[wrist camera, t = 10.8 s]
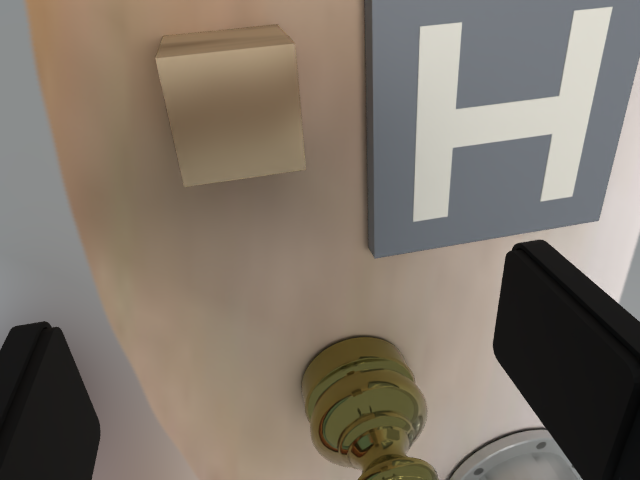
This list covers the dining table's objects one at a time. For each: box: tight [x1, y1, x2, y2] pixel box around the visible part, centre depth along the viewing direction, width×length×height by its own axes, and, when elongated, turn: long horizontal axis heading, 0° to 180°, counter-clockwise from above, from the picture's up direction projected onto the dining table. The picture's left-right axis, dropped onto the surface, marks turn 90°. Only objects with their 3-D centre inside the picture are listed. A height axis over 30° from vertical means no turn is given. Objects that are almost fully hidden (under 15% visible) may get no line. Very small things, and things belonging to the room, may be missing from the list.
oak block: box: [155, 24, 306, 187], centre depth 22 cm, size 5×5×5 cm
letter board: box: [365, 0, 640, 258], centre depth 27 cm, size 14×14×1 cm
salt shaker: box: [302, 337, 439, 480], centre depth 31 cm, size 7×7×10 cm
